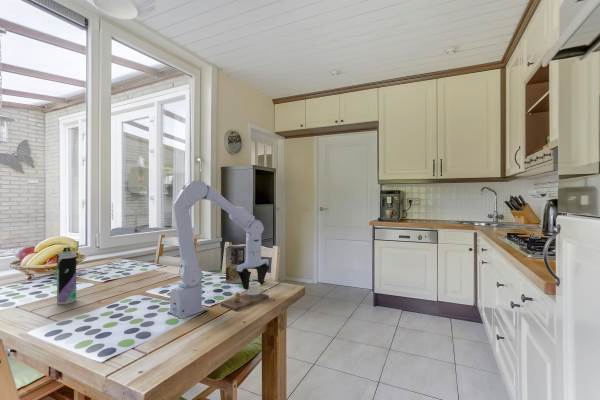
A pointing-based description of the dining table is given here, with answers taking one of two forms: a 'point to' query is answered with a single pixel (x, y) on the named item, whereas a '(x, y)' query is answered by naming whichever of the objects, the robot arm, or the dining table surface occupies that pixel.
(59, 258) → the black purple carton
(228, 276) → the coffee box
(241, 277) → the robot arm
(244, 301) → the pin board
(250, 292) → the sleeve
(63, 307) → the dining table surface
